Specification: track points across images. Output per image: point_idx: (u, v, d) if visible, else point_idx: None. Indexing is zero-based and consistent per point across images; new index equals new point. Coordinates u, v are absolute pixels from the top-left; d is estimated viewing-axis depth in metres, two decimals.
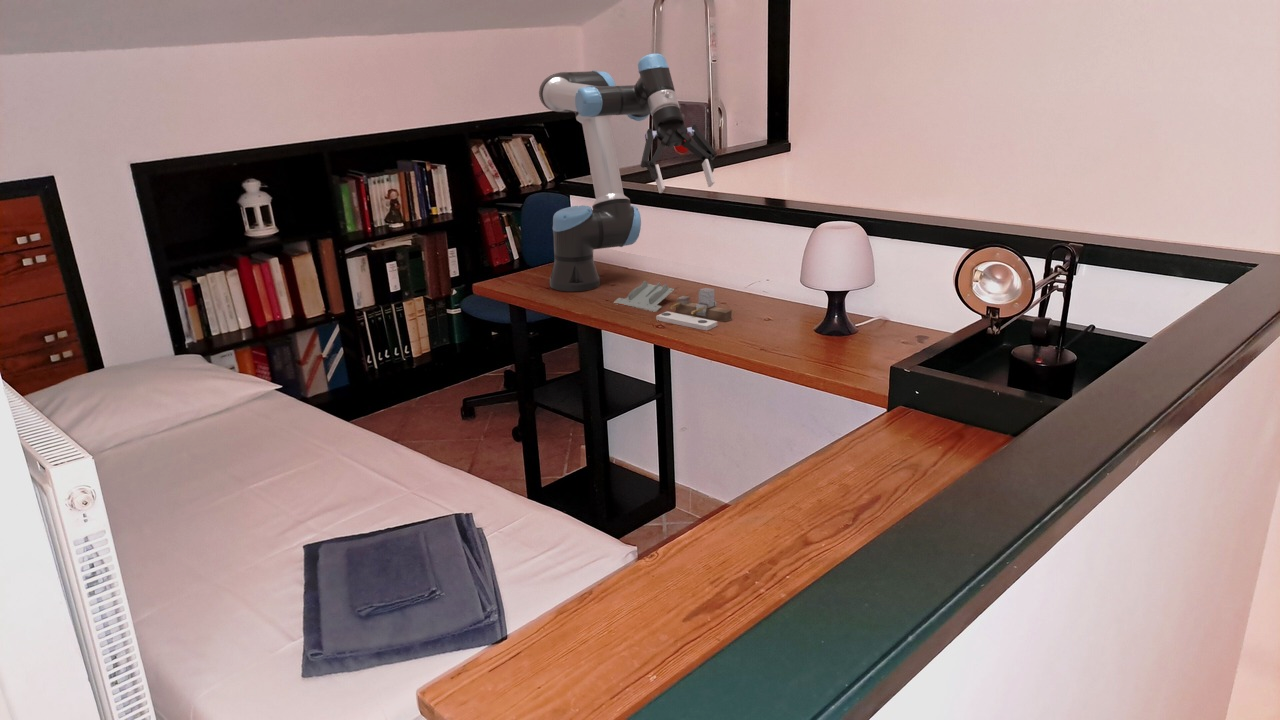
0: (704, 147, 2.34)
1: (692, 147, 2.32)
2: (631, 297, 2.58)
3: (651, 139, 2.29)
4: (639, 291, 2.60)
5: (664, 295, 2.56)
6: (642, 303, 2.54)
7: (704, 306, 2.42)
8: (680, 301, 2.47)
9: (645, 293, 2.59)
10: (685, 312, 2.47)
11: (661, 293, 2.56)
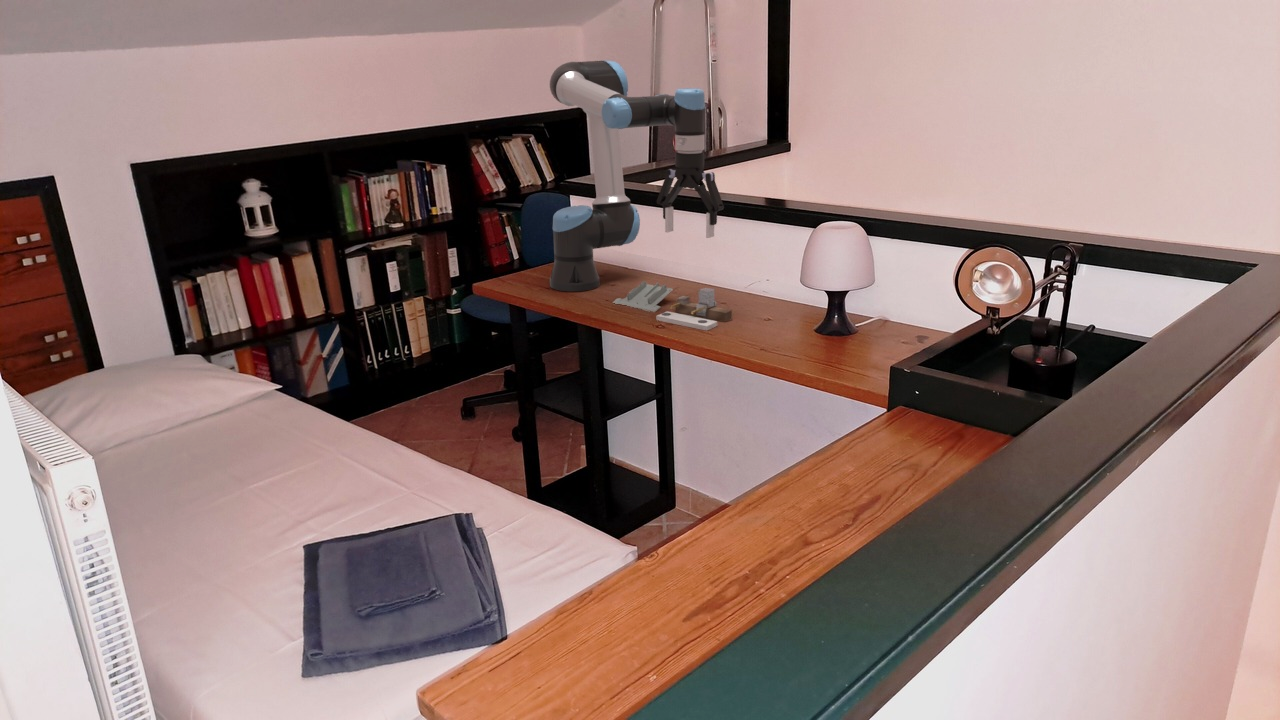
0: None
1: None
2: (630, 297, 2.57)
3: (666, 181, 2.39)
4: (638, 291, 2.60)
5: (663, 295, 2.56)
6: (641, 303, 2.54)
7: (704, 306, 2.42)
8: (680, 301, 2.47)
9: (644, 293, 2.59)
10: (685, 312, 2.47)
11: (660, 293, 2.56)
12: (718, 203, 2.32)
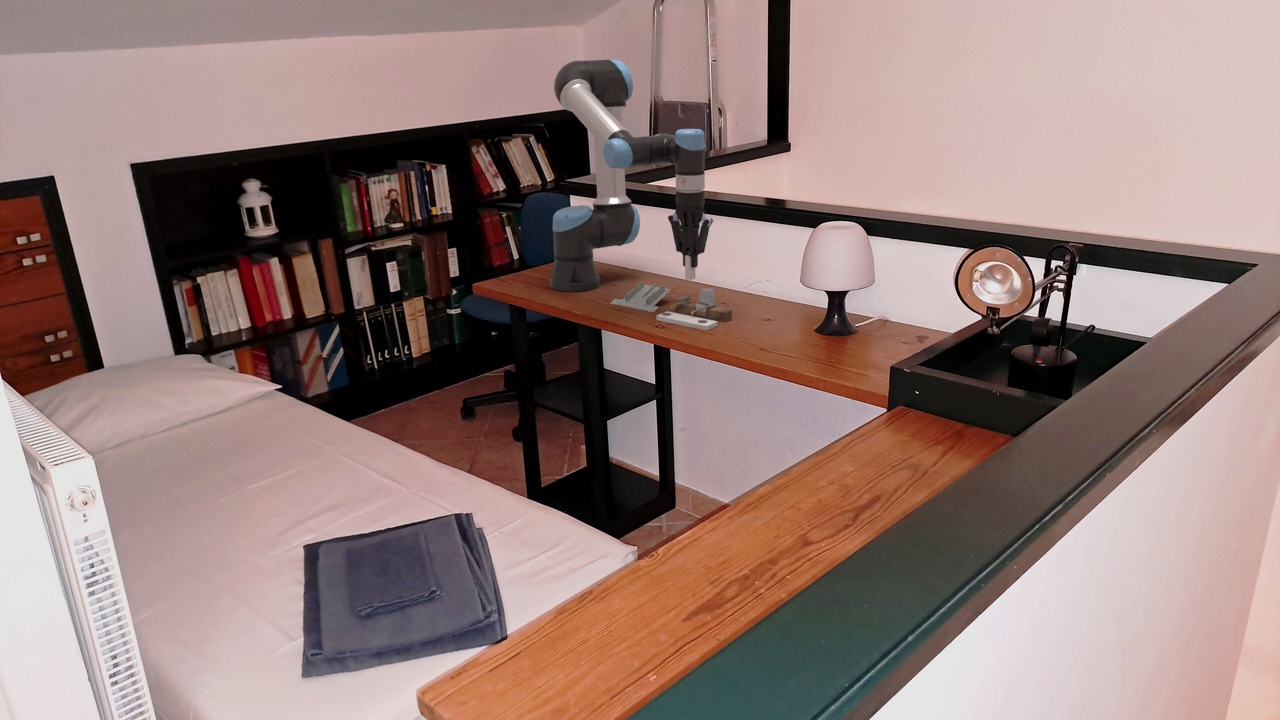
0: None
1: None
2: (628, 298, 2.57)
3: (674, 225, 2.42)
4: (635, 292, 2.59)
5: (661, 296, 2.56)
6: (639, 304, 2.54)
7: (704, 306, 2.42)
8: (680, 301, 2.47)
9: (642, 294, 2.59)
10: (685, 312, 2.47)
11: (658, 294, 2.56)
12: (701, 248, 2.39)
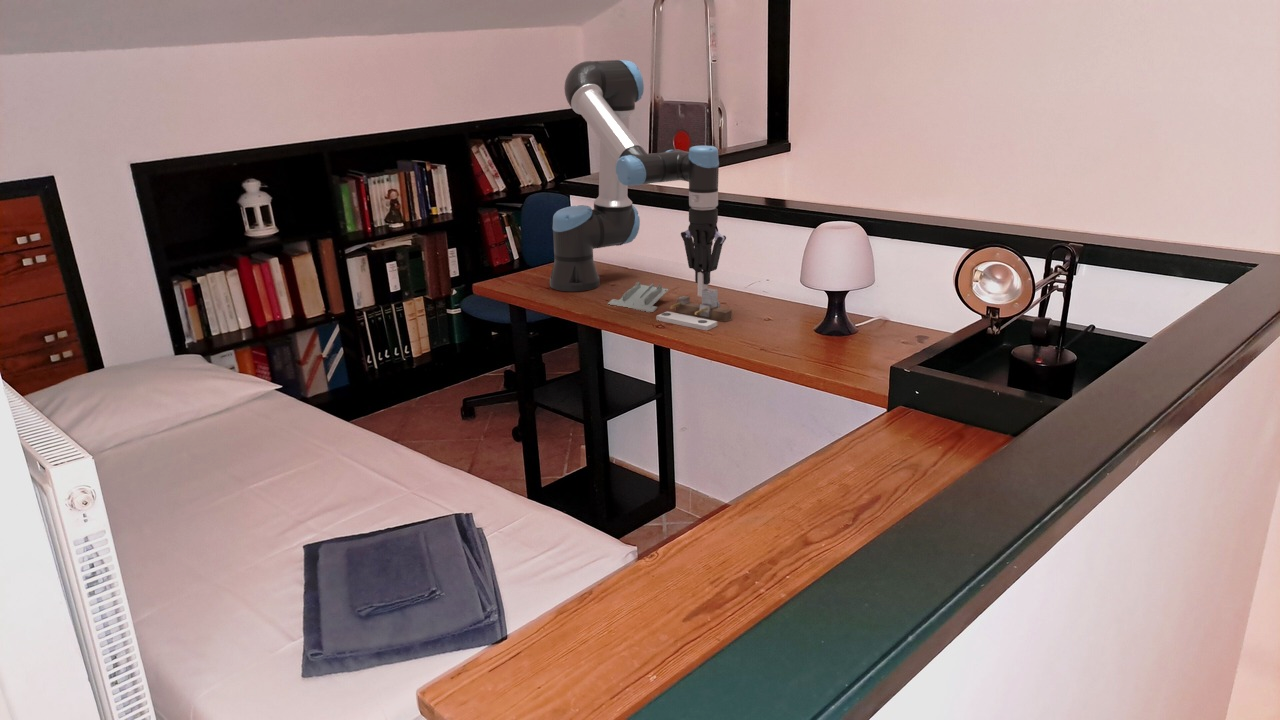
0: None
1: None
2: (625, 298, 2.57)
3: (686, 242, 2.41)
4: (633, 292, 2.59)
5: (659, 296, 2.56)
6: (637, 304, 2.54)
7: (707, 306, 2.41)
8: (680, 301, 2.47)
9: (639, 294, 2.59)
10: (685, 312, 2.47)
11: (656, 294, 2.56)
12: (714, 265, 2.38)
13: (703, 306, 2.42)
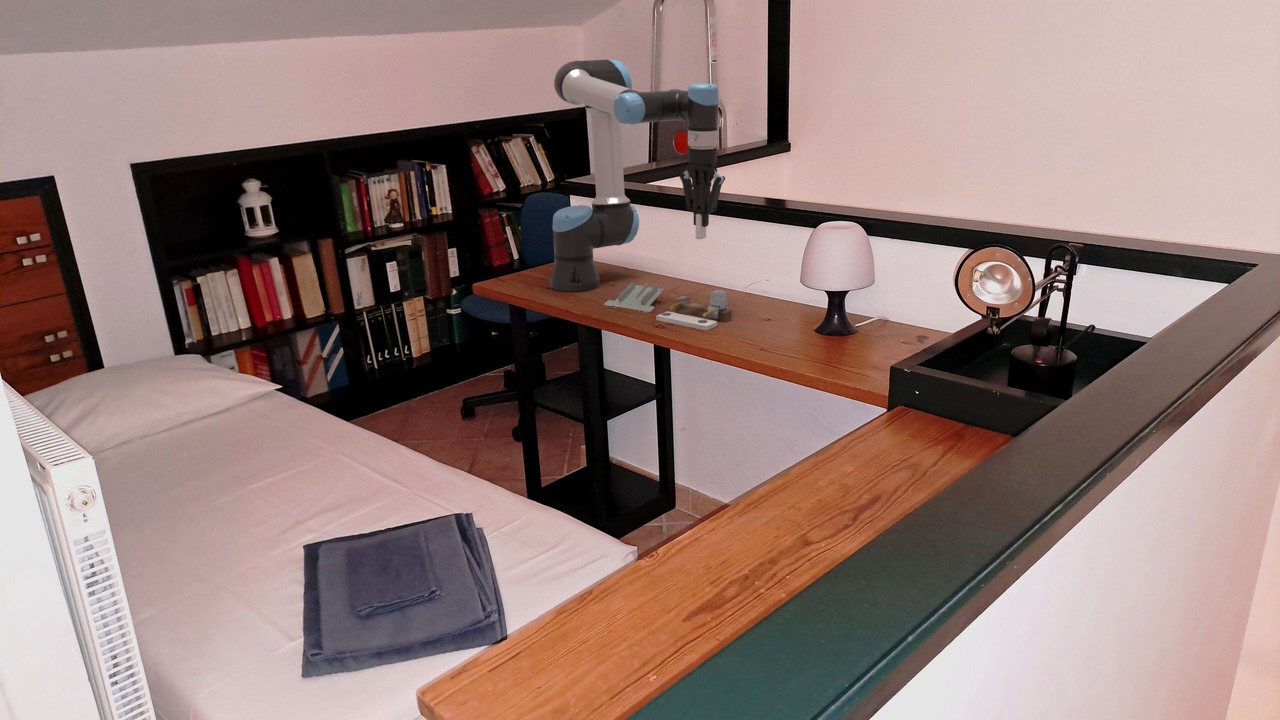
0: None
1: None
2: (621, 299, 2.56)
3: (685, 183, 2.37)
4: (628, 292, 2.59)
5: (655, 296, 2.56)
6: (634, 304, 2.53)
7: (716, 308, 2.39)
8: (680, 301, 2.47)
9: (634, 294, 2.58)
10: (685, 312, 2.47)
11: (651, 294, 2.56)
12: (712, 207, 2.35)
13: (712, 308, 2.40)
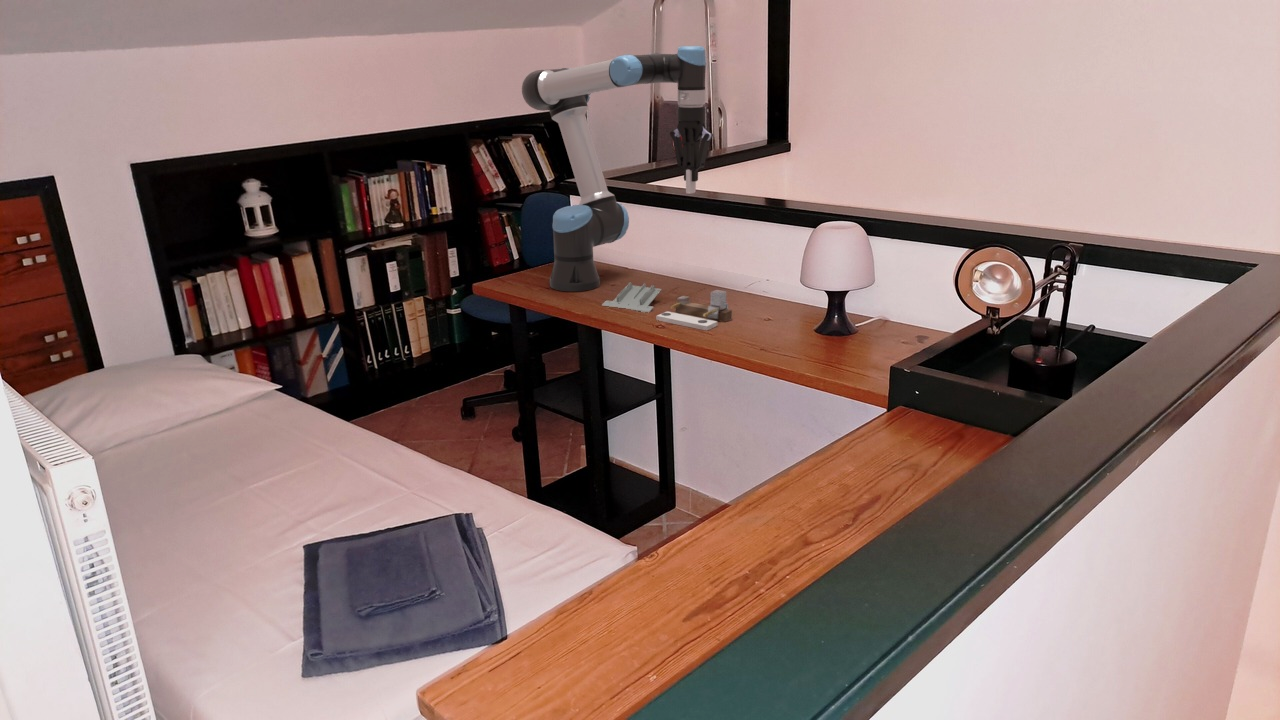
0: None
1: None
2: (619, 299, 2.56)
3: (675, 141, 2.53)
4: (626, 293, 2.59)
5: (653, 296, 2.56)
6: (632, 305, 2.53)
7: (716, 308, 2.39)
8: (680, 301, 2.47)
9: (632, 294, 2.58)
10: (685, 312, 2.47)
11: (650, 294, 2.56)
12: (701, 162, 2.51)
13: (712, 308, 2.40)
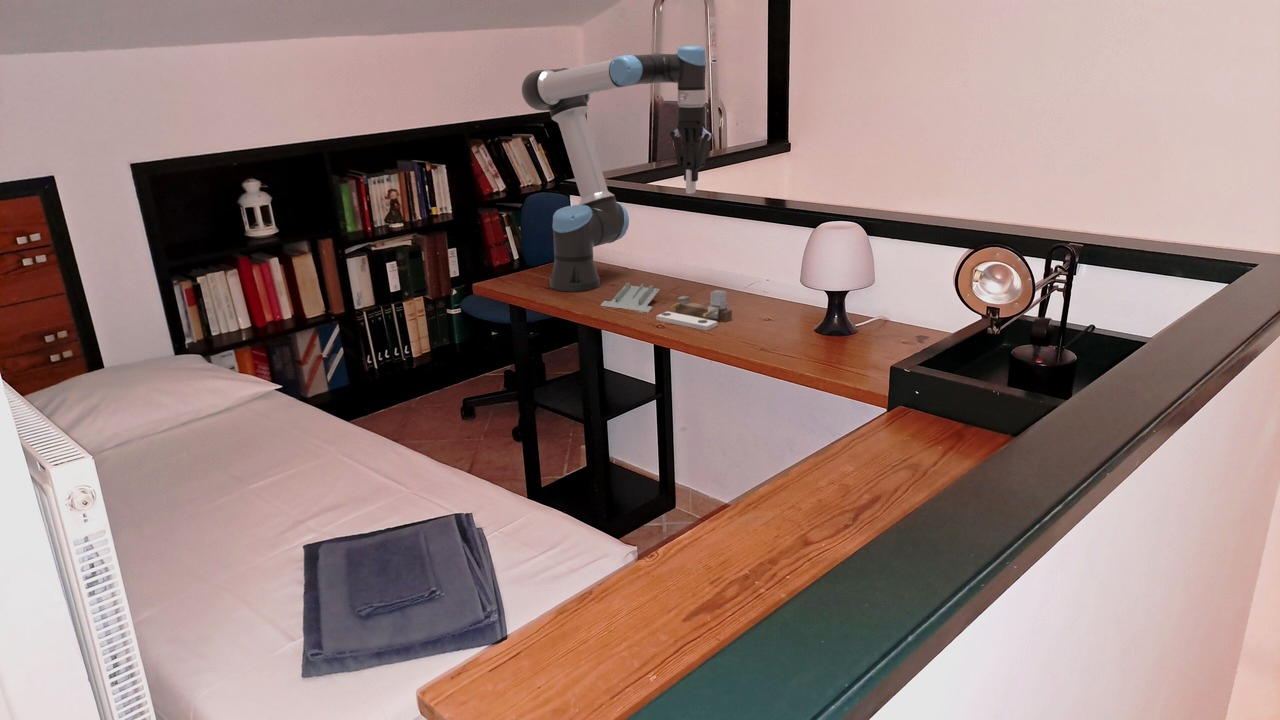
0: None
1: None
2: (618, 299, 2.56)
3: (675, 141, 2.53)
4: (624, 293, 2.58)
5: (651, 296, 2.56)
6: (631, 305, 2.53)
7: (716, 308, 2.39)
8: (680, 301, 2.47)
9: (630, 295, 2.58)
10: (685, 312, 2.47)
11: (648, 294, 2.56)
12: (701, 162, 2.51)
13: (712, 308, 2.40)
